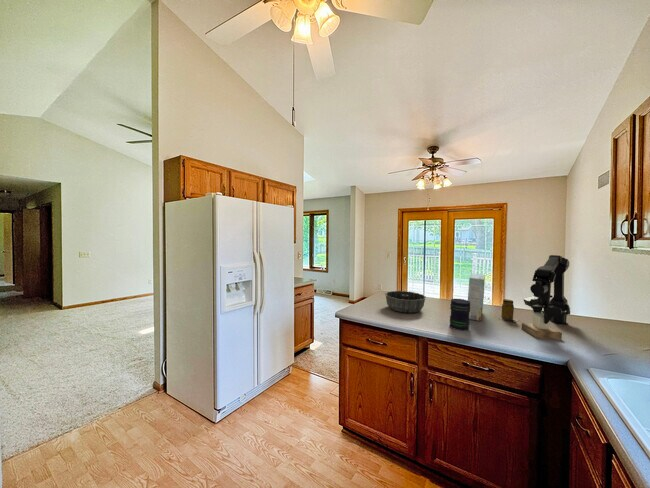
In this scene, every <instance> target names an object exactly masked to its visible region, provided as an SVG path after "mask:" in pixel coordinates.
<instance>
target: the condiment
mask: <svg viewBox="0 0 650 488" xmlns="http://www.w3.org/2000/svg"><path fill="white" fill-rule="evenodd" d="M514 310H515V306H514V301H513V300H512V299H507V298H506V299H505V298H504V299H502V303H501V315H500V316H501V317H499V318H498V319H499V320H502V321H507V322H511V323H512V322H513V323H517V322H519V319H516V318H514Z"/></svg>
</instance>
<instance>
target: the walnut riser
mask: <svg viewBox="0 0 650 488" xmlns="http://www.w3.org/2000/svg"><path fill="white" fill-rule="evenodd" d="M521 330H523V331H524V332H526V333H527V334H529V335H530V336H532V337H533V338H535V339H546V340H547V339H548V340H561V341H562V339H563V338H562V336H563V333H562V331H560V330H557V329H555V327H554V328H553V327H552V326H550V328H549V329H539V328H537V327H535V326H533V322H521Z"/></svg>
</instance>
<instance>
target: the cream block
mask: <svg viewBox="0 0 650 488" xmlns="http://www.w3.org/2000/svg"><path fill="white" fill-rule="evenodd" d="M532 313H533V315H532V323H533V326H535V327H537V328H539V329H549V328H550V327H551V326H550V324H551V321H549V322H548V324H545V323H544V313H543V312H541V313H537V312H532Z"/></svg>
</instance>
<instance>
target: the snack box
mask: <svg viewBox="0 0 650 488" xmlns="http://www.w3.org/2000/svg"><path fill="white" fill-rule="evenodd" d="M468 279H469V280H468V290H467V292H468V293H467V300H468V301H470V312H469V320H472V321H477V322H481V321H482V316H483V309H484V301H485V300H484V299H485V298H484V296H485V285H486V284H485V282H486V281H485V274H478V273H471V274H470V276H469V278H468Z"/></svg>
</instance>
